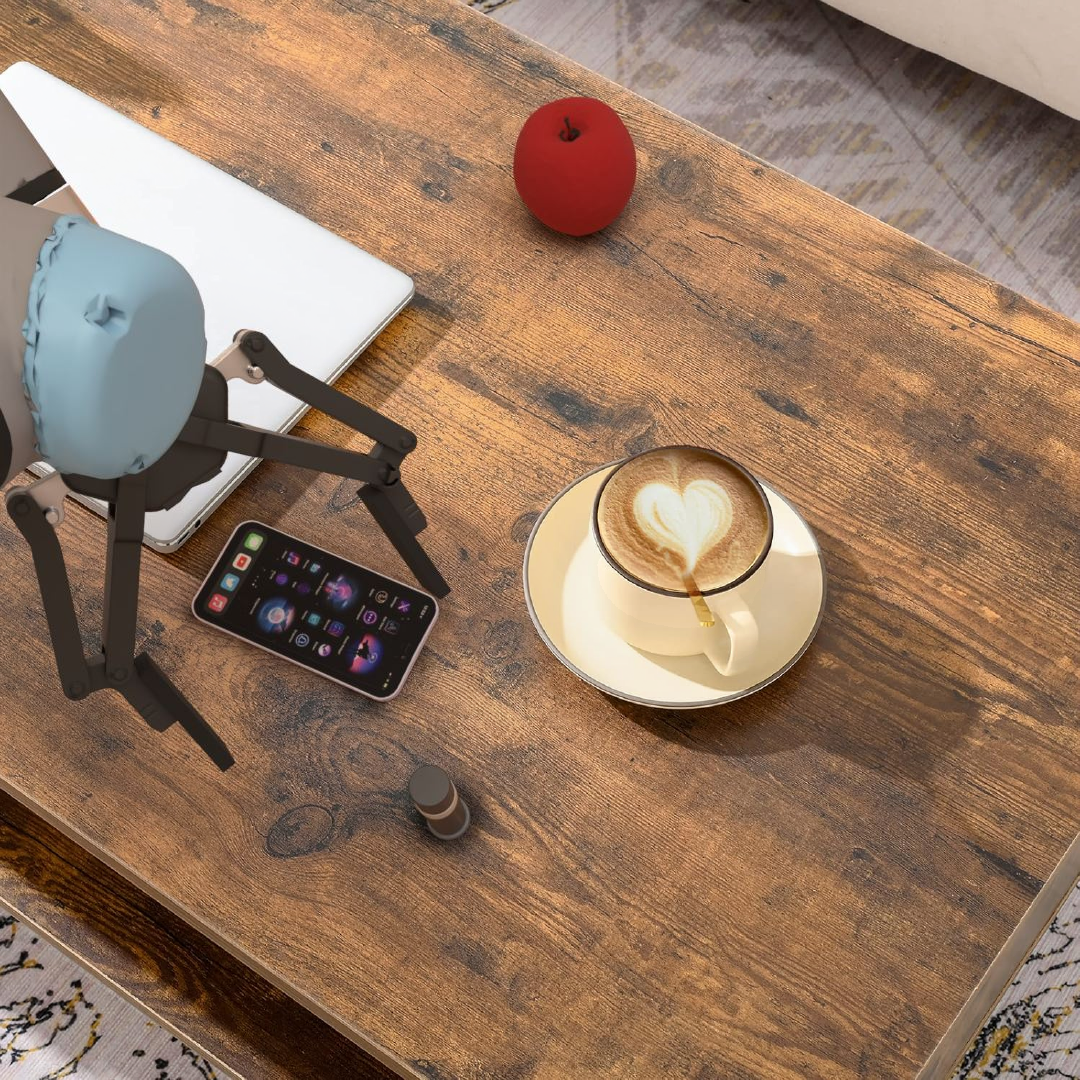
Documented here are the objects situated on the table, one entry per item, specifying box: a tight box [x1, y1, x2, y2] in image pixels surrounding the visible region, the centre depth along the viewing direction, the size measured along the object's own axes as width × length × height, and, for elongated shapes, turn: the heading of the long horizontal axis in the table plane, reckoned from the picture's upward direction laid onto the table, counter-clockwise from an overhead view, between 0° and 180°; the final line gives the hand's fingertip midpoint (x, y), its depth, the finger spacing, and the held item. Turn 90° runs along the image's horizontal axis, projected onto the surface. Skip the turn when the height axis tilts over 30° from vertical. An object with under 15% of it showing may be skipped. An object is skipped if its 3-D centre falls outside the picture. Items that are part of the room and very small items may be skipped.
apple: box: [512, 96, 637, 237], centre depth 83 cm, size 9×9×10 cm
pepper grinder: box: [407, 764, 471, 841], centre depth 65 cm, size 3×3×10 cm
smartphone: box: [191, 519, 440, 703], centre depth 75 cm, size 8×1×15 cm
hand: (333, 671), depth 59 cm, fingers open, 13 cm apart
